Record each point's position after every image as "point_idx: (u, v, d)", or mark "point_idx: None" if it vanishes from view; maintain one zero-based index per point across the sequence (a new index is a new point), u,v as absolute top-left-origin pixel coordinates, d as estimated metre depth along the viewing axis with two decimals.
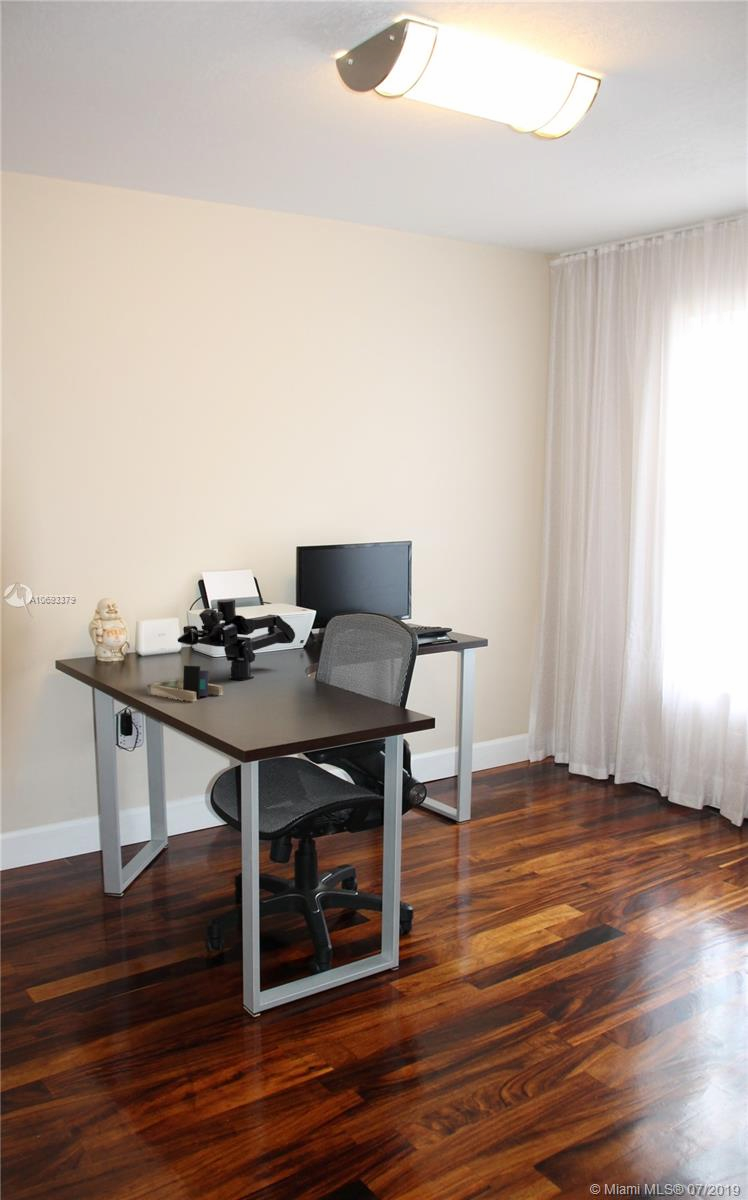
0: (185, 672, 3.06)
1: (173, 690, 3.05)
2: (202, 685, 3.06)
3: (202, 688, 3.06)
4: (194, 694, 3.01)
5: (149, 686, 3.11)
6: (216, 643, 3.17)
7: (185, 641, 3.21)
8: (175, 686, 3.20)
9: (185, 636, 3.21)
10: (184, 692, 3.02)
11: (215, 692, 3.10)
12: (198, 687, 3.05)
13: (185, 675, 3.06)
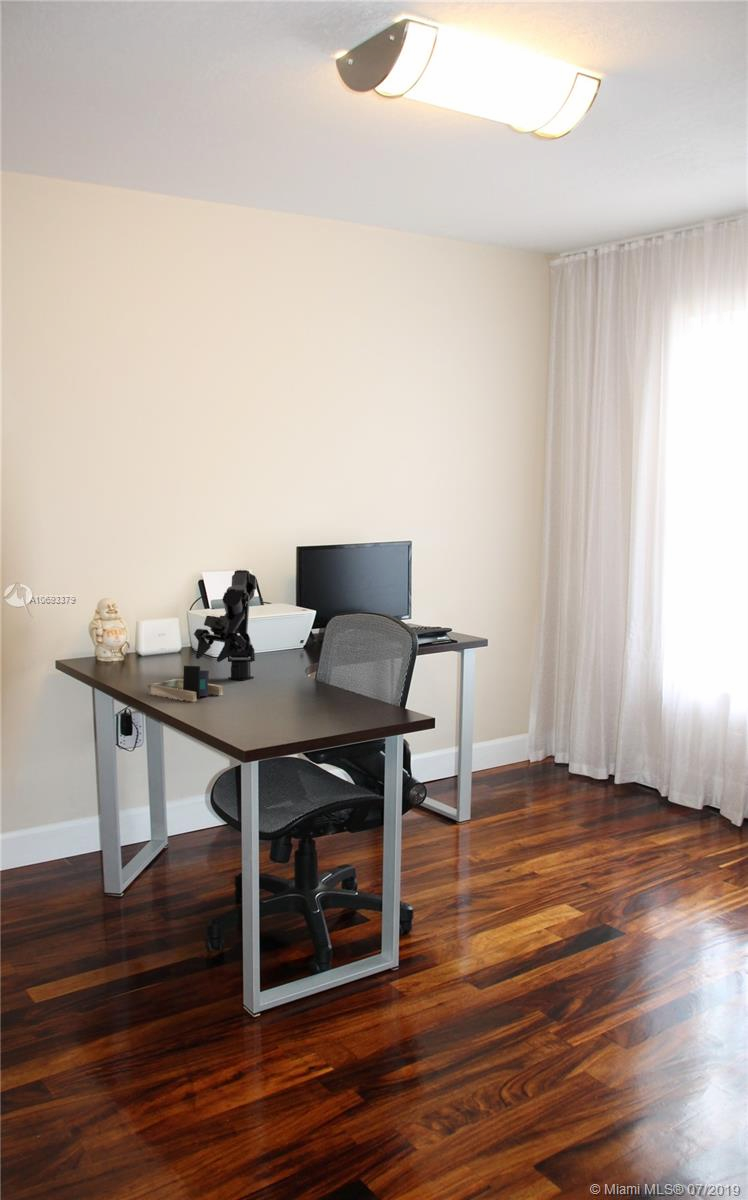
0: (185, 672, 3.06)
1: (173, 690, 3.05)
2: (202, 685, 3.06)
3: (202, 688, 3.06)
4: (194, 694, 3.01)
5: (149, 686, 3.11)
6: (234, 649, 3.11)
7: (203, 652, 3.16)
8: (175, 686, 3.20)
9: (201, 648, 3.15)
10: (184, 692, 3.02)
11: (215, 692, 3.10)
12: (198, 687, 3.05)
13: (185, 675, 3.06)
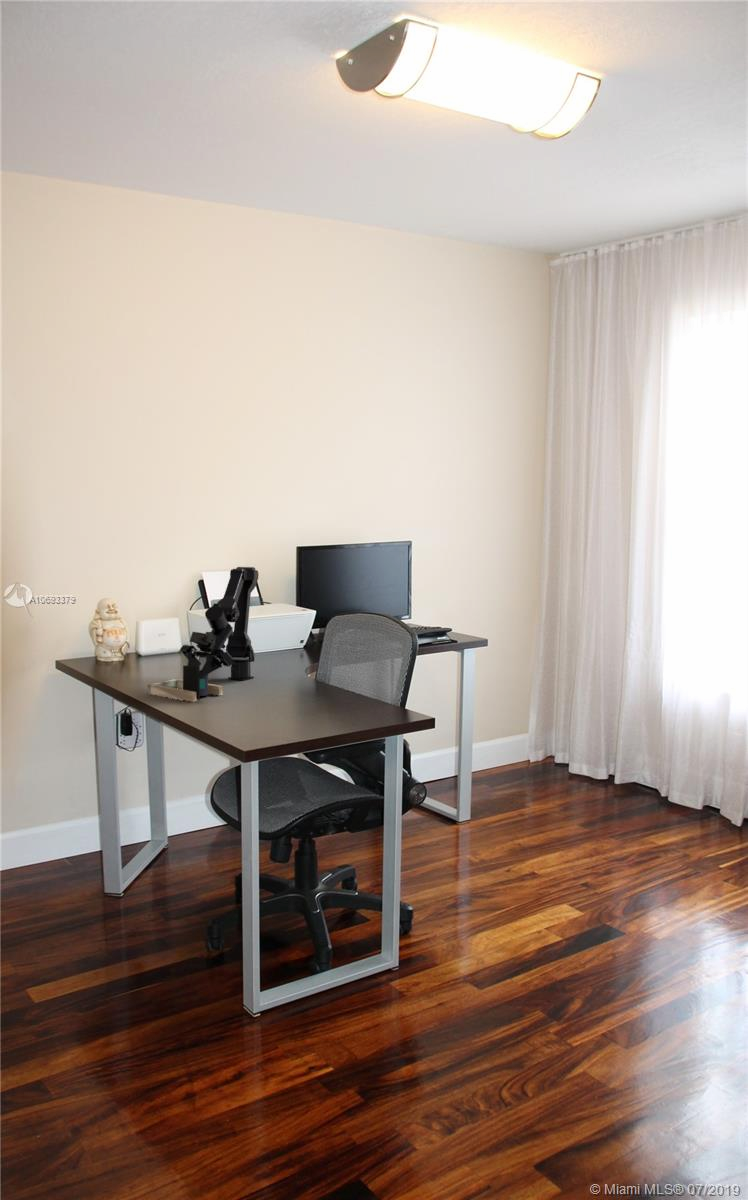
0: (184, 672, 3.06)
1: (173, 690, 3.05)
2: (201, 684, 3.06)
3: (202, 688, 3.06)
4: (194, 694, 3.01)
5: (149, 686, 3.11)
6: (216, 665, 3.08)
7: None
8: (175, 686, 3.20)
9: (191, 665, 3.09)
10: (184, 692, 3.02)
11: (215, 692, 3.10)
12: (198, 687, 3.05)
13: (185, 675, 3.06)
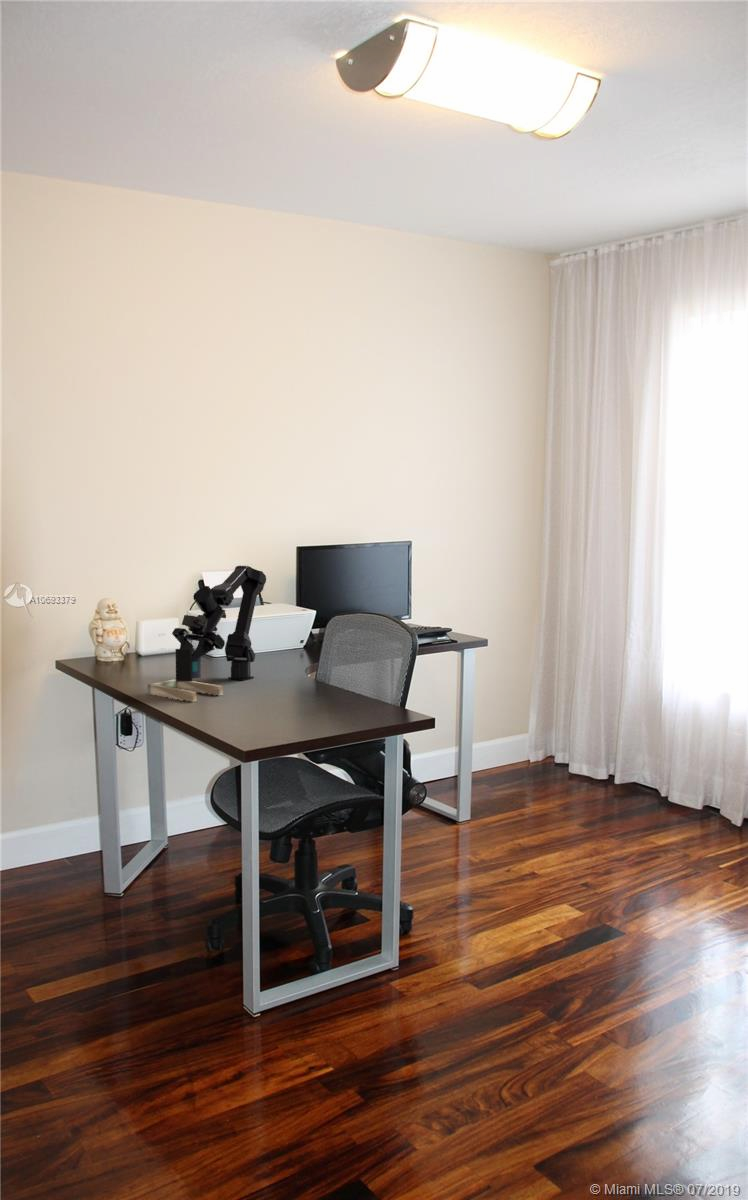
0: (177, 655, 3.08)
1: (173, 690, 3.05)
2: (194, 667, 3.08)
3: (195, 671, 3.08)
4: (194, 694, 3.01)
5: (149, 686, 3.11)
6: (209, 648, 3.10)
7: None
8: (175, 686, 3.20)
9: (183, 648, 3.11)
10: (184, 692, 3.02)
11: (215, 692, 3.10)
12: (191, 669, 3.07)
13: (177, 658, 3.08)
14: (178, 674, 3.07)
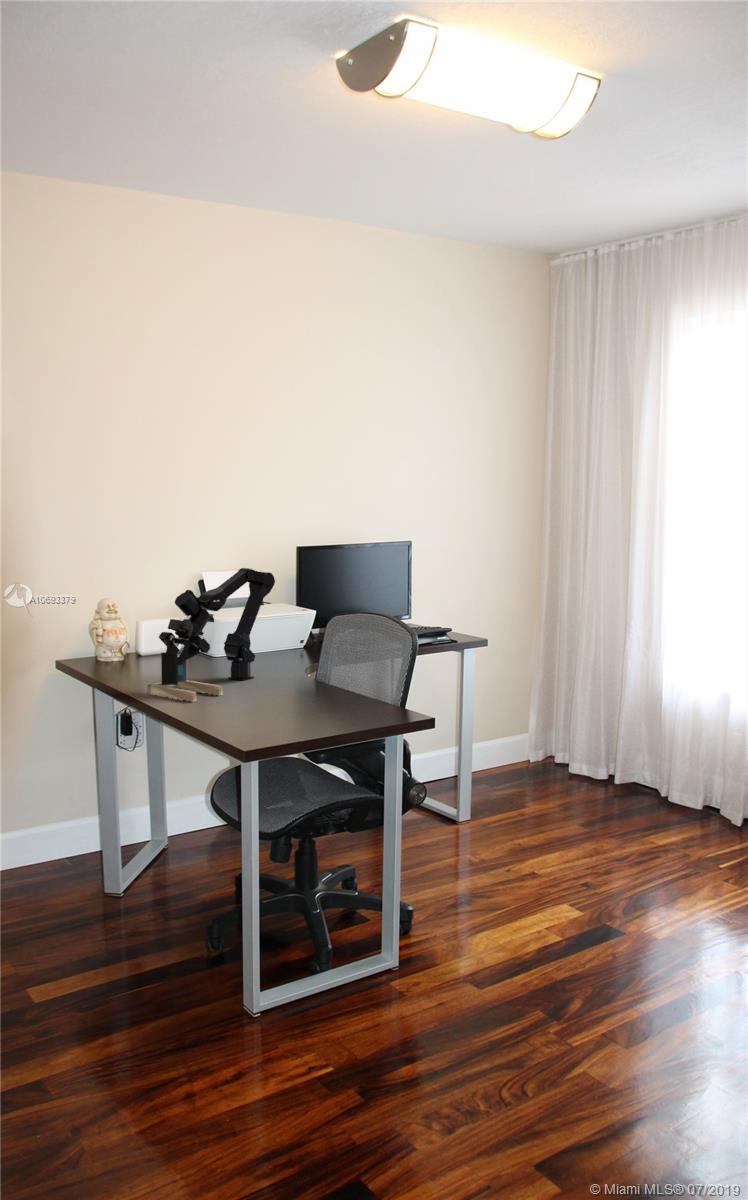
0: (163, 659, 3.12)
1: (173, 690, 3.05)
2: (180, 671, 3.11)
3: (180, 674, 3.11)
4: (194, 694, 3.01)
5: (149, 686, 3.11)
6: (194, 652, 3.13)
7: None
8: (175, 686, 3.20)
9: (169, 652, 3.15)
10: (184, 692, 3.02)
11: (215, 692, 3.10)
12: (176, 673, 3.11)
13: (163, 662, 3.12)
14: (164, 678, 3.11)
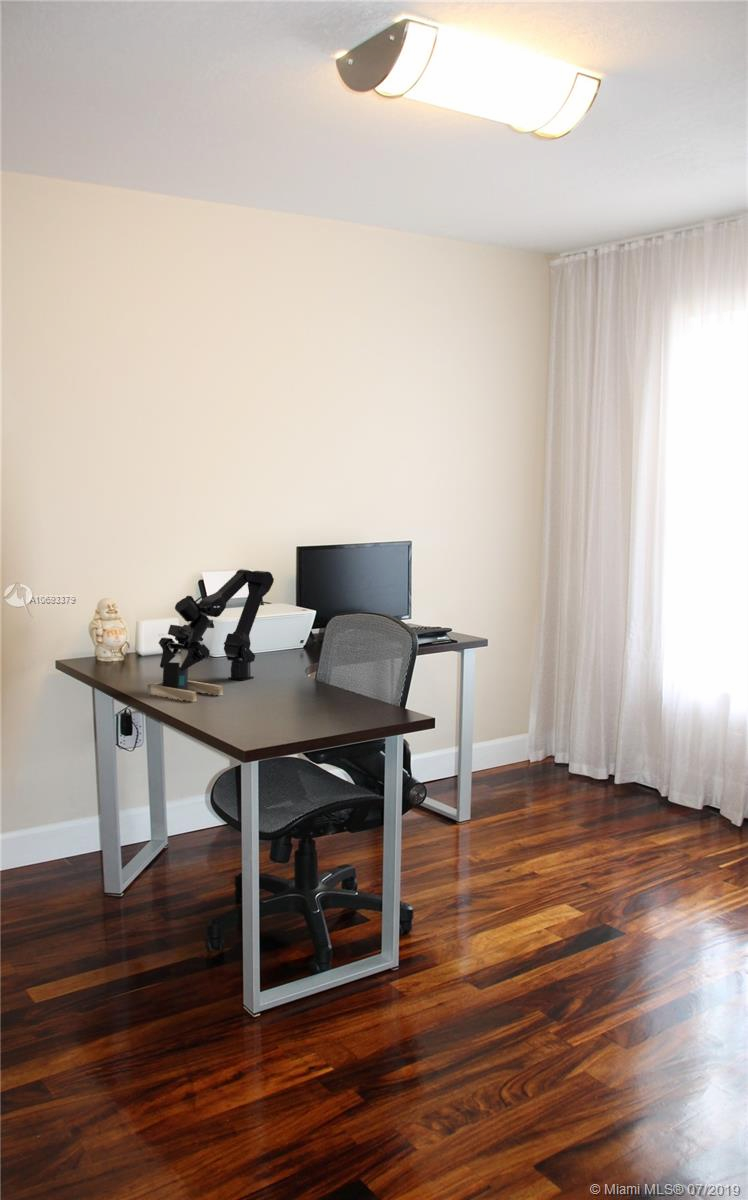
0: (165, 668, 3.12)
1: (173, 690, 3.05)
2: (181, 681, 3.12)
3: (181, 684, 3.12)
4: (194, 694, 3.01)
5: (149, 686, 3.11)
6: (198, 658, 3.13)
7: (167, 661, 3.17)
8: None
9: (165, 657, 3.16)
10: (184, 692, 3.02)
11: (215, 692, 3.10)
12: (177, 683, 3.11)
13: (165, 671, 3.12)
14: None
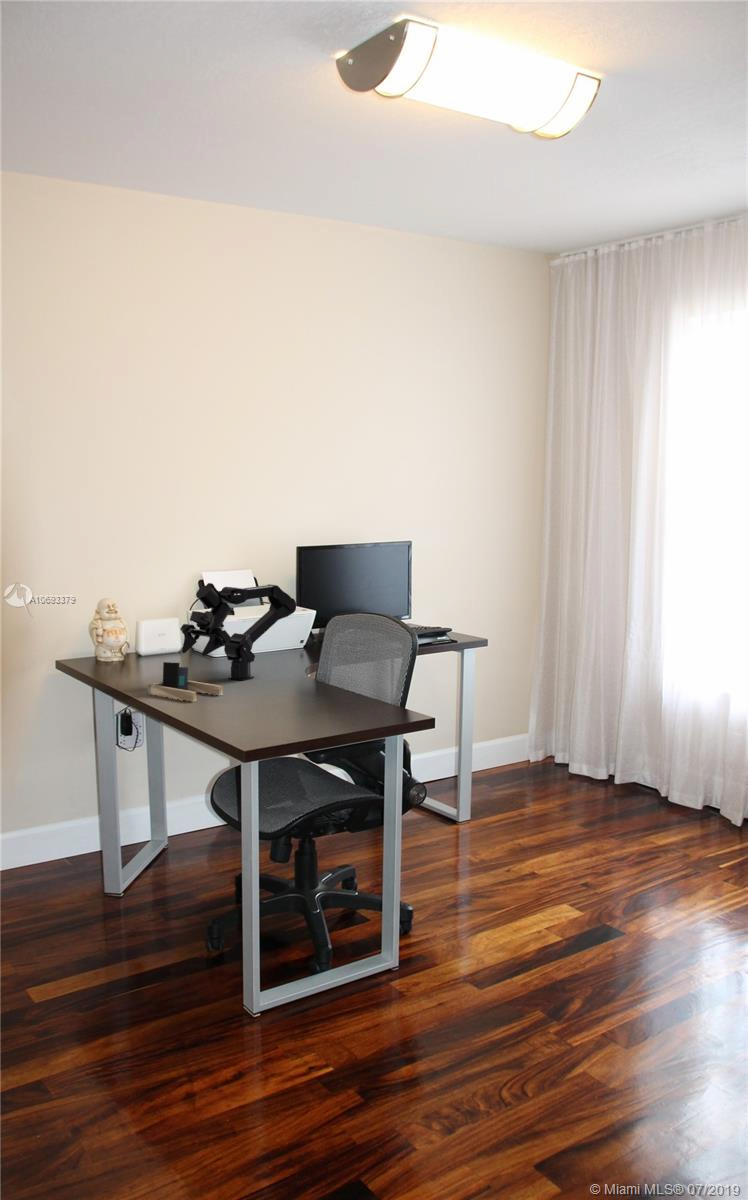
0: (165, 668, 3.12)
1: (173, 690, 3.05)
2: (181, 681, 3.12)
3: (181, 685, 3.12)
4: (194, 694, 3.01)
5: (149, 686, 3.11)
6: (219, 644, 3.20)
7: (189, 646, 3.24)
8: None
9: (187, 643, 3.24)
10: (184, 692, 3.02)
11: (215, 692, 3.10)
12: (177, 683, 3.11)
13: (164, 671, 3.12)
14: None
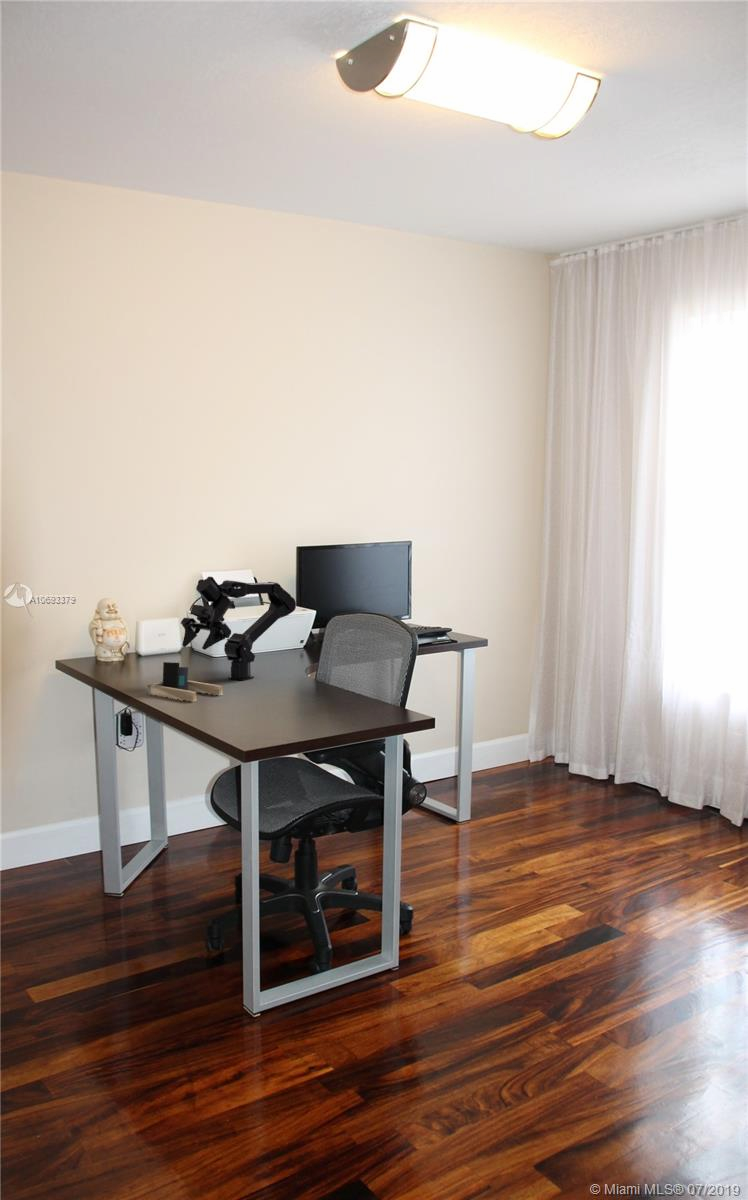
0: (165, 668, 3.12)
1: (173, 690, 3.05)
2: (181, 681, 3.12)
3: (181, 685, 3.12)
4: (194, 694, 3.01)
5: (149, 686, 3.11)
6: (219, 637, 3.20)
7: (189, 640, 3.25)
8: None
9: (187, 636, 3.24)
10: (184, 692, 3.02)
11: (215, 692, 3.10)
12: (177, 683, 3.11)
13: (165, 671, 3.12)
14: None
